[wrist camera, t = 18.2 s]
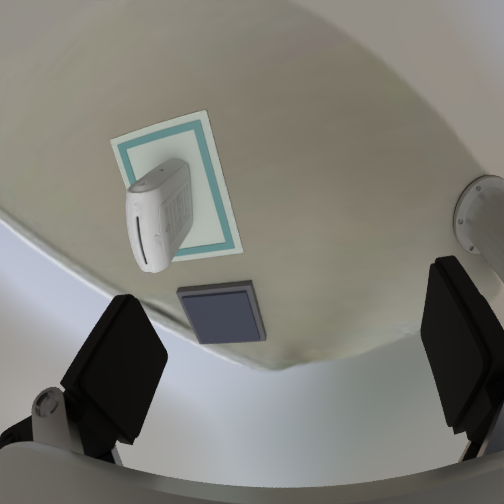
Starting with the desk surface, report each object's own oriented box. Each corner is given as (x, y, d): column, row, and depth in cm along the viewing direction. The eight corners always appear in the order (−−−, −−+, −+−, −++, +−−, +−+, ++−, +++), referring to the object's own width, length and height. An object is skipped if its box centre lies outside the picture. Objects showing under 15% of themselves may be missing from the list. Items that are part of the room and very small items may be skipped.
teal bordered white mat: (206, 109, 34) (205, 109, 33) (243, 251, 44) (243, 253, 43) (110, 139, 37) (109, 140, 36) (156, 263, 47) (155, 265, 46)
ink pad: (251, 280, 46) (250, 287, 45) (266, 335, 52) (265, 343, 51) (178, 287, 49) (175, 294, 47) (201, 339, 55) (199, 346, 53)
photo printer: (159, 157, 37) (112, 192, 27) (190, 157, 37) (151, 192, 27) (166, 228, 43) (130, 280, 32) (195, 229, 42) (165, 284, 32)
